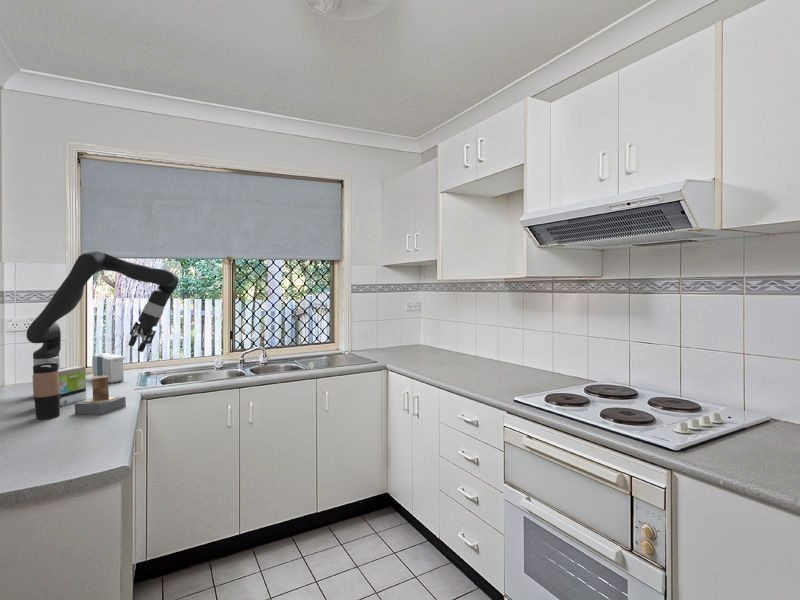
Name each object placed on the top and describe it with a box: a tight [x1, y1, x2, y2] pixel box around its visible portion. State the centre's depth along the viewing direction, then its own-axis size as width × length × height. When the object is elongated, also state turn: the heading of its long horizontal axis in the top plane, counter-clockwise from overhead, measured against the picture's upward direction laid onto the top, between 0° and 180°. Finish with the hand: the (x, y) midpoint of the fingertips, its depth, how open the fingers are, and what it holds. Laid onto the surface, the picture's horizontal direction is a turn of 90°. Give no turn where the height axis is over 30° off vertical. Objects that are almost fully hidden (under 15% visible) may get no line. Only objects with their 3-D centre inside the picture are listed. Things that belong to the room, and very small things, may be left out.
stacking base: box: [74, 395, 127, 416], centre depth 180 cm, size 12×12×4 cm
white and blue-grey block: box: [91, 342, 126, 384], centre depth 232 cm, size 21×8×20 cm, turn 53°
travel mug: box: [32, 363, 61, 421], centre depth 171 cm, size 8×8×20 cm
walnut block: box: [91, 375, 110, 401], centre depth 180 cm, size 5×5×9 cm
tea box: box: [58, 365, 87, 407], centre depth 190 cm, size 15×10×15 cm, turn 168°
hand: (135, 348), depth 193 cm, fingers open, 8 cm apart
